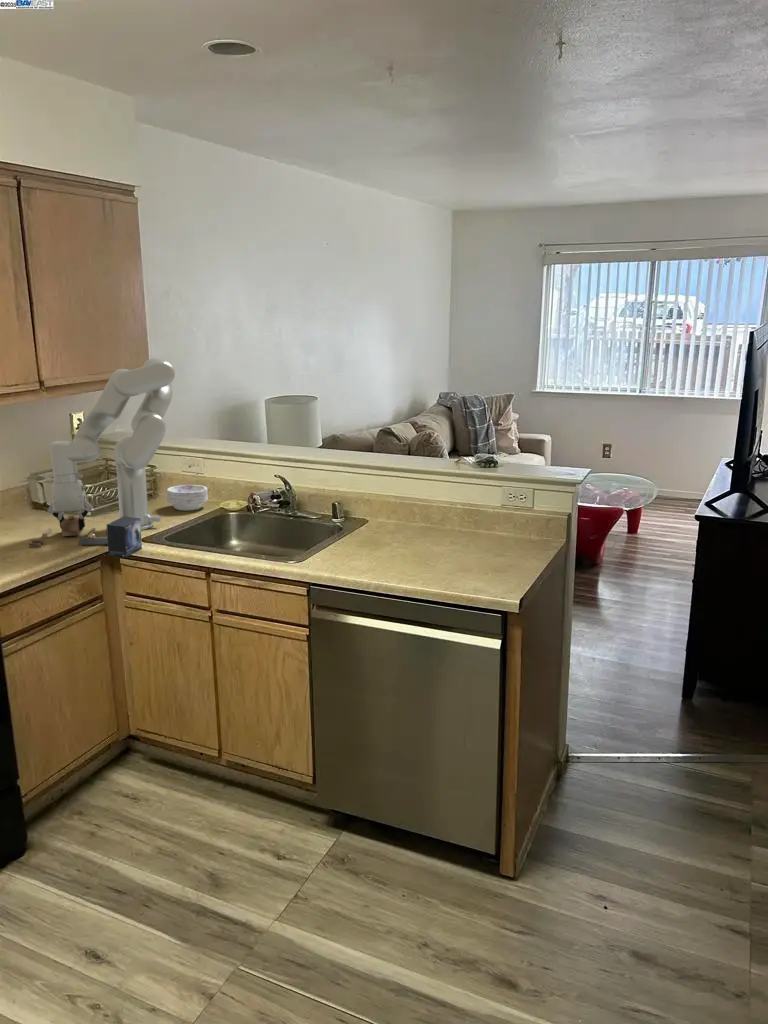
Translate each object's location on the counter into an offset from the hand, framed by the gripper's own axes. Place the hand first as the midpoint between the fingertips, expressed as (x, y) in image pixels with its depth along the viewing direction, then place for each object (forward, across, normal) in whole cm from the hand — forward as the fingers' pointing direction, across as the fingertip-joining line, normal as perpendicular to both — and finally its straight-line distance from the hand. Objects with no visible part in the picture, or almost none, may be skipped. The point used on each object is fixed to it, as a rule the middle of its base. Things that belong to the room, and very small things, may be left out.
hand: (73, 529), depth 266 cm
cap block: (+1, 0, 0) cm, 1 cm away
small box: (+2, -21, +22) cm, 30 cm away
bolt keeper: (+1, +9, +12) cm, 15 cm away
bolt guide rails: (+2, +1, 0) cm, 2 cm away
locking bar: (+2, -11, +12) cm, 17 cm away
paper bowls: (+4, -35, -33) cm, 48 cm away
